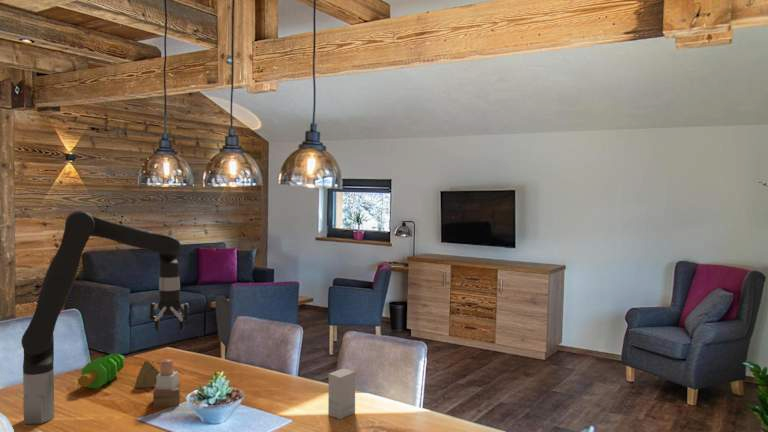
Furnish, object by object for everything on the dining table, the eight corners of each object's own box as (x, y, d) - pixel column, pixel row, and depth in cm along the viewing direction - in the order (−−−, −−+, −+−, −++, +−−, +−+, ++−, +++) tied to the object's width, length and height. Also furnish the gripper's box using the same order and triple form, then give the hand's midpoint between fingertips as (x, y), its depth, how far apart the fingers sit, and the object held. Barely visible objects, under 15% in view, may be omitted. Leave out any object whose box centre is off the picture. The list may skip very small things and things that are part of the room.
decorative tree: (76, 362, 236) (117, 340, 266) (67, 388, 238) (108, 363, 267) (102, 374, 235) (140, 350, 265) (92, 400, 237) (131, 373, 267)
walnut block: (179, 405, 226) (178, 389, 225) (153, 407, 223) (153, 392, 223) (180, 397, 234) (180, 382, 234) (155, 399, 232) (155, 384, 231)
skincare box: (343, 408, 223) (343, 367, 223) (356, 413, 219) (356, 371, 218) (327, 415, 217) (327, 373, 216) (340, 420, 213) (340, 376, 212)
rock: (172, 377, 250) (153, 371, 254) (164, 365, 244) (145, 359, 248) (155, 399, 243) (136, 392, 247) (146, 387, 237) (128, 380, 241)
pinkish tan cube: (171, 375, 226) (171, 362, 226) (159, 375, 226) (158, 362, 226) (174, 371, 231) (174, 358, 231) (162, 372, 230) (162, 359, 230)
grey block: (172, 389, 226) (172, 376, 225) (156, 389, 226) (156, 376, 225) (178, 384, 232) (177, 371, 231) (162, 384, 232) (162, 371, 231)
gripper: (147, 290, 225) (147, 332, 225) (186, 290, 226) (186, 332, 226) (153, 286, 232) (153, 328, 233) (191, 286, 233) (191, 328, 234)
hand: (169, 330), depth 230 cm, fingers open, 8 cm apart
